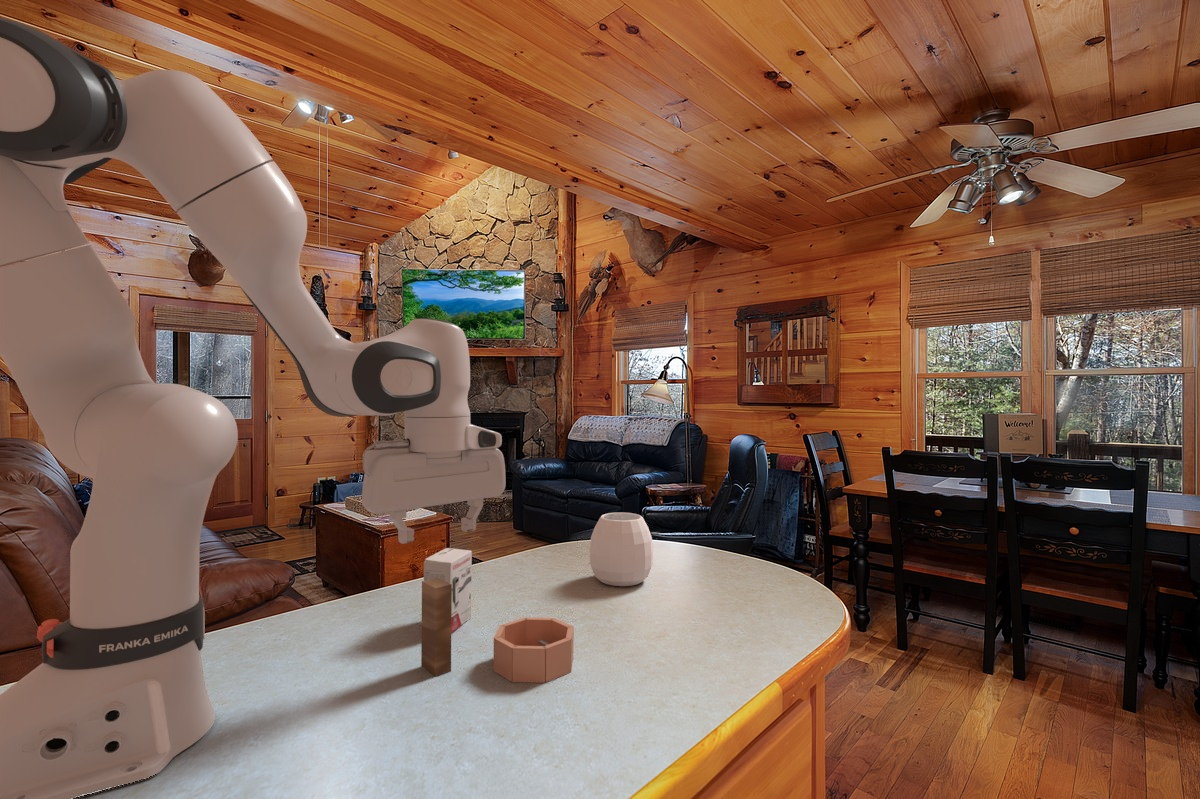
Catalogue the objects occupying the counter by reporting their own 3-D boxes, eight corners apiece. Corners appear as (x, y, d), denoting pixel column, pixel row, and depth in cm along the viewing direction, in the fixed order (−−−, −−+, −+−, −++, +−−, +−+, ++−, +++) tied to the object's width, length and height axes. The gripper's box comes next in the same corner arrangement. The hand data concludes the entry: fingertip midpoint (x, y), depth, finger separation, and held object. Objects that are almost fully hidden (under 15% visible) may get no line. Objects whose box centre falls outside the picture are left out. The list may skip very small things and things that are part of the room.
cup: (655, 592, 113) (656, 523, 113) (588, 591, 113) (588, 522, 113) (650, 571, 126) (651, 510, 126) (590, 571, 127) (590, 509, 127)
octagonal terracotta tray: (526, 690, 74) (526, 655, 74) (481, 662, 82) (481, 631, 82) (588, 664, 82) (588, 633, 82) (541, 641, 90) (541, 612, 90)
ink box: (450, 636, 91) (450, 562, 91) (421, 634, 92) (422, 560, 92) (472, 616, 100) (473, 548, 100) (446, 614, 101) (447, 546, 101)
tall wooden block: (435, 676, 78) (435, 588, 78) (421, 666, 81) (421, 581, 81) (451, 671, 80) (451, 584, 80) (437, 661, 83) (437, 577, 83)
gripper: (372, 443, 71) (373, 555, 71) (511, 434, 85) (511, 528, 85) (353, 440, 75) (354, 545, 76) (487, 432, 89) (488, 521, 90)
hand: (438, 536), depth 80 cm, fingers open, 8 cm apart
